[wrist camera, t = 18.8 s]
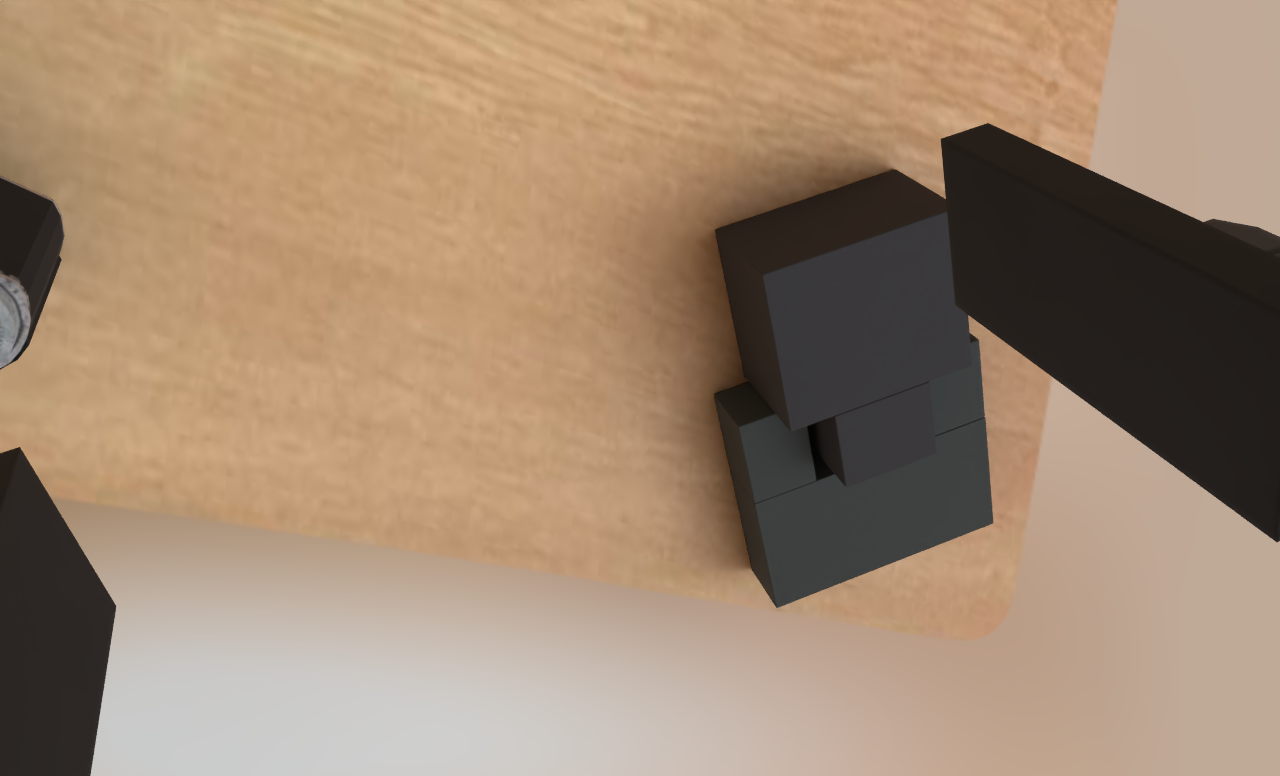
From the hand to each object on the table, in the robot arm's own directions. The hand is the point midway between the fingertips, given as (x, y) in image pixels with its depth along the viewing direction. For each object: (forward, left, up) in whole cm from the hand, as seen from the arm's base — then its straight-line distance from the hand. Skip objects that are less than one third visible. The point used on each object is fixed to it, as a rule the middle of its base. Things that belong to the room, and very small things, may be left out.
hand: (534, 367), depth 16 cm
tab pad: (-14, +16, -27) cm, 35 cm away
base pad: (-15, +24, -27) cm, 38 cm away
